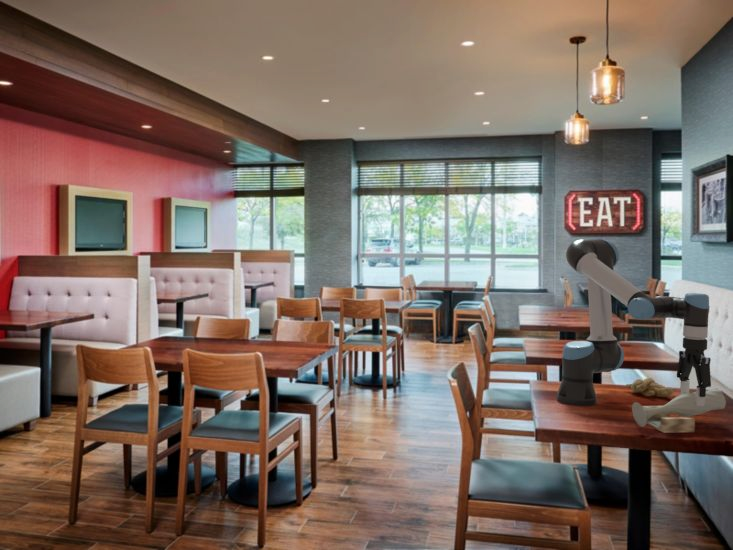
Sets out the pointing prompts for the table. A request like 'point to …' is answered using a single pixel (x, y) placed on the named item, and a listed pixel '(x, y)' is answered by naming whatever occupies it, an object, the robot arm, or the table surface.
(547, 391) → the table surface
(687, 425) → the u rest
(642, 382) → the ginger root
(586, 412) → the table surface
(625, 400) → the table surface
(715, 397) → the vase
